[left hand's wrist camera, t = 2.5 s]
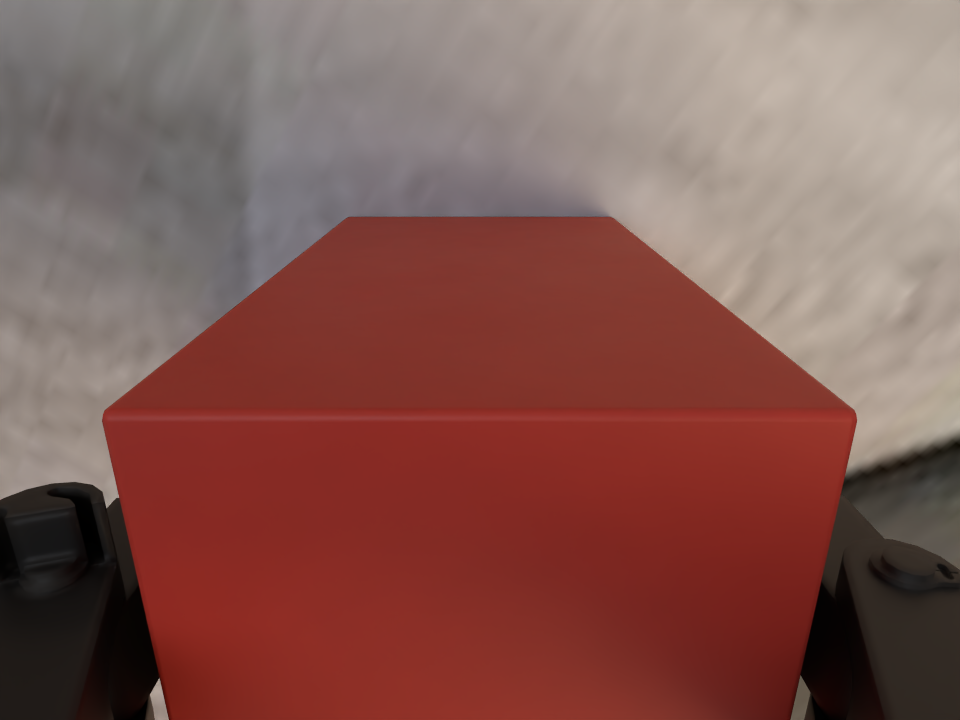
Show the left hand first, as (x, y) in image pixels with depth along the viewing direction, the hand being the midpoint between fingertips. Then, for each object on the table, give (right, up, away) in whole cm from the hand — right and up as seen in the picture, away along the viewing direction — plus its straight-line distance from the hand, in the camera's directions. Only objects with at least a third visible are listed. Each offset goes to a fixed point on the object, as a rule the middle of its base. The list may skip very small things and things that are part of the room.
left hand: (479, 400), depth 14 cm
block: (0, +1, +3) cm, 3 cm away
